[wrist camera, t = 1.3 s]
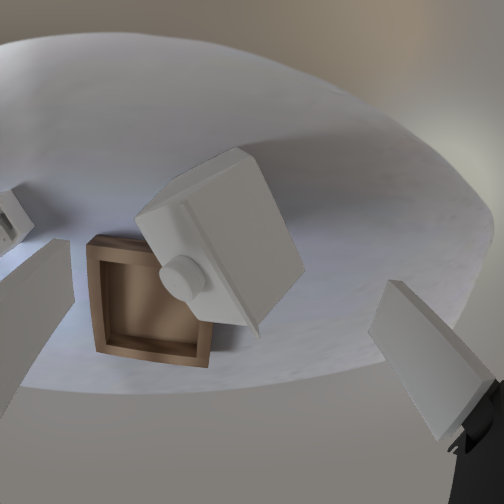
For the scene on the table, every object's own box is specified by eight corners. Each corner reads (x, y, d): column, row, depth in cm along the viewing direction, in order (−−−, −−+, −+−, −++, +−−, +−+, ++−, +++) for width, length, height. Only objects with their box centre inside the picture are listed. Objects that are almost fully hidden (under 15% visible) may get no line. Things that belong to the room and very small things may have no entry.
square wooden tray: (103, 337, 35) (96, 351, 32) (96, 234, 30) (86, 244, 27) (208, 351, 37) (208, 368, 34) (221, 250, 32) (222, 261, 29)
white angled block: (31, 278, 28) (-27, 278, 20) (13, 211, 30) (-38, 200, 21) (46, 262, 28) (-15, 258, 19) (27, 193, 30) (-25, 179, 21)
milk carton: (236, 145, 29) (265, 161, 11) (266, 208, 31) (328, 306, 14) (172, 178, 29) (107, 245, 11) (205, 238, 32) (193, 365, 14)
